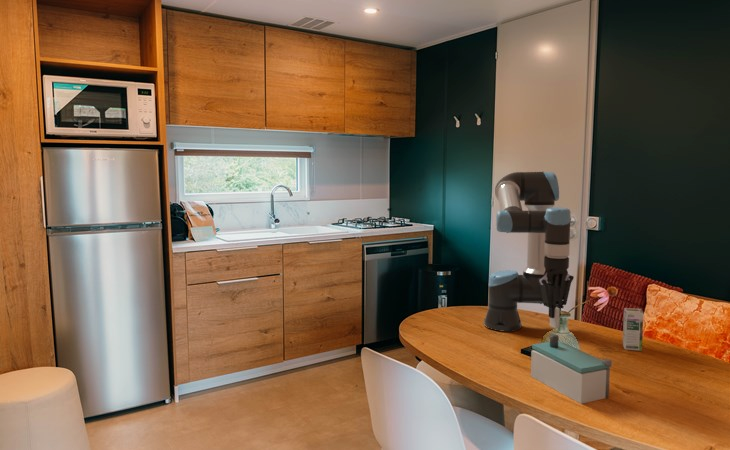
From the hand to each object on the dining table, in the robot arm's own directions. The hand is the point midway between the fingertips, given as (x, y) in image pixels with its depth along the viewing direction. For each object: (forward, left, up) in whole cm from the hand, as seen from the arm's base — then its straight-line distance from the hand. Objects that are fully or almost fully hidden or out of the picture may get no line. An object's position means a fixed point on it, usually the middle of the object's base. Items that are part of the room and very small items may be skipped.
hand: (554, 326), depth 170 cm
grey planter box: (+5, +11, -15) cm, 19 cm away
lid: (+4, +12, -6) cm, 14 cm away
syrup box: (-41, -5, -15) cm, 44 cm away
